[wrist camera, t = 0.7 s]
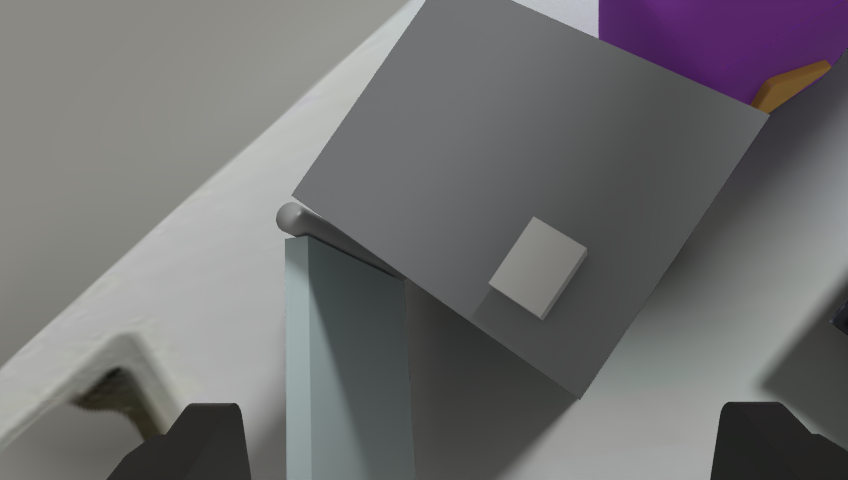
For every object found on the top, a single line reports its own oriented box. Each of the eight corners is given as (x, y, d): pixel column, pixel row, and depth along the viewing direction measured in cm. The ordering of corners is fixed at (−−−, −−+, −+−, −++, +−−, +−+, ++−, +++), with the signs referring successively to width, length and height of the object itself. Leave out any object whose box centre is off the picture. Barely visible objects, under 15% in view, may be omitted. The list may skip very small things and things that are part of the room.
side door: (406, 262, 34) (303, 200, 22) (420, 492, 31) (308, 566, 19) (381, 265, 35) (266, 206, 23) (392, 492, 32) (265, 565, 19)
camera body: (473, 120, 37) (381, -72, 21) (687, 238, 32) (780, 99, 16) (386, 248, 37) (225, 150, 21) (587, 387, 31) (578, 401, 15)
